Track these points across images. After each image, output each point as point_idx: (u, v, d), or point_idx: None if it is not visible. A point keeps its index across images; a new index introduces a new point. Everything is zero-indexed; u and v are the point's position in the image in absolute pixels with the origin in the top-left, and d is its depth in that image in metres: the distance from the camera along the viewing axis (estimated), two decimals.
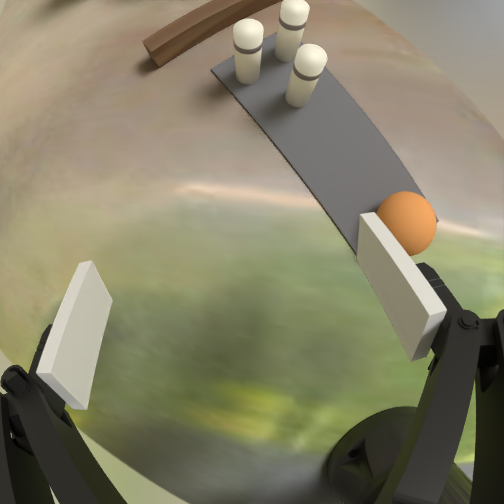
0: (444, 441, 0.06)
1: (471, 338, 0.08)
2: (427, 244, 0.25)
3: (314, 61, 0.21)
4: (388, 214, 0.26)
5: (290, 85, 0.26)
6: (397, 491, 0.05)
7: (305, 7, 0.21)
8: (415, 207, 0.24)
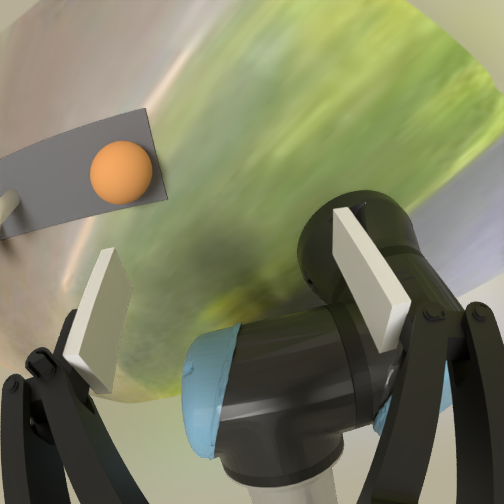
0: (419, 435, 0.06)
1: (438, 329, 0.09)
2: (139, 176, 0.26)
3: None
4: None
5: None
6: (376, 488, 0.05)
7: None
8: (99, 183, 0.25)
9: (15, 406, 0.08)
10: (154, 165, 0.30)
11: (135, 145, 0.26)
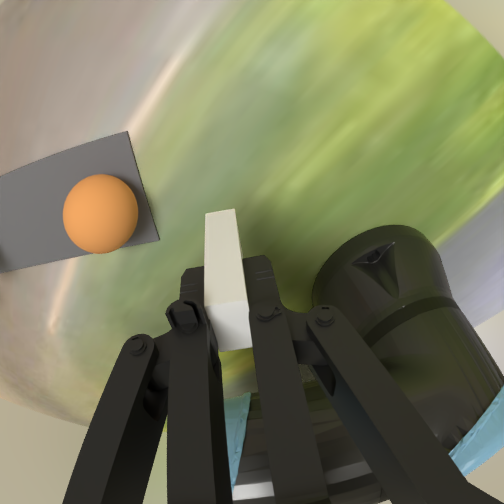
0: (295, 434, 0.07)
1: (276, 327, 0.10)
2: (120, 222, 0.21)
3: None
4: None
5: None
6: (277, 497, 0.06)
7: None
8: (72, 231, 0.20)
9: (133, 372, 0.09)
10: (141, 201, 0.25)
11: (115, 181, 0.21)
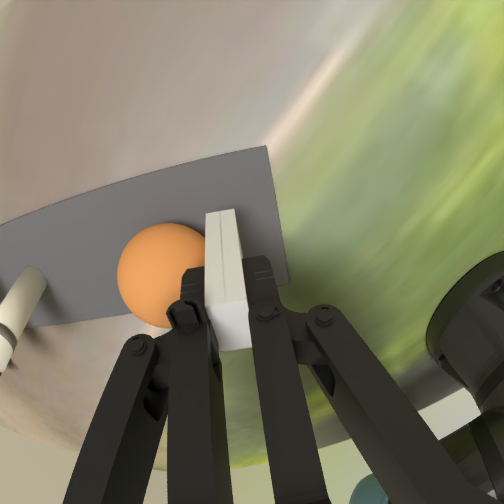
0: (295, 434, 0.07)
1: (276, 327, 0.10)
2: (152, 316, 0.16)
3: None
4: None
5: None
6: (277, 498, 0.06)
7: None
8: None
9: (133, 372, 0.09)
10: (275, 237, 0.20)
11: (169, 261, 0.15)
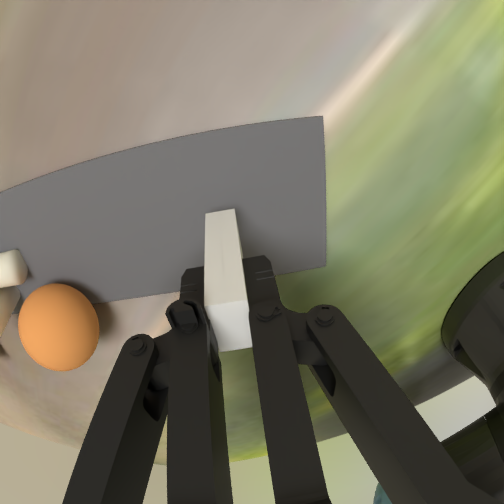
0: (295, 434, 0.07)
1: (276, 327, 0.10)
2: (73, 295, 0.18)
3: None
4: None
5: None
6: (277, 498, 0.06)
7: None
8: (69, 351, 0.16)
9: (133, 372, 0.09)
10: (320, 215, 0.19)
11: (31, 293, 0.17)
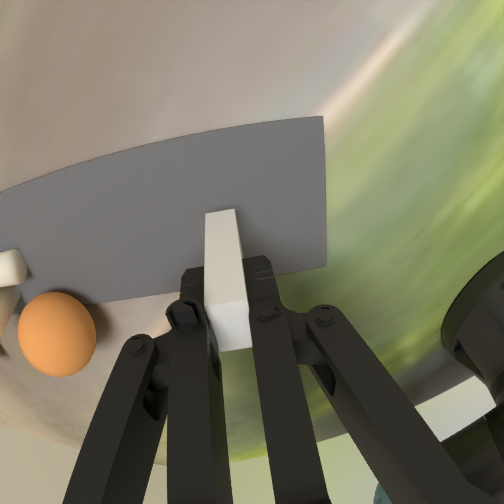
0: (295, 434, 0.07)
1: (276, 327, 0.10)
2: (67, 312, 0.18)
3: None
4: None
5: None
6: (277, 498, 0.06)
7: None
8: (64, 367, 0.17)
9: (133, 372, 0.09)
10: (320, 215, 0.19)
11: (28, 306, 0.17)
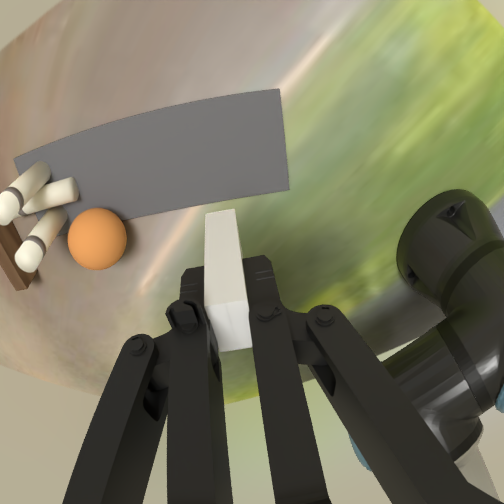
0: (295, 434, 0.07)
1: (276, 327, 0.10)
2: (109, 217, 0.27)
3: None
4: (114, 263, 0.29)
5: None
6: (277, 498, 0.06)
7: (1, 204, 0.19)
8: (102, 256, 0.26)
9: (133, 372, 0.09)
10: (281, 152, 0.29)
11: (79, 215, 0.27)
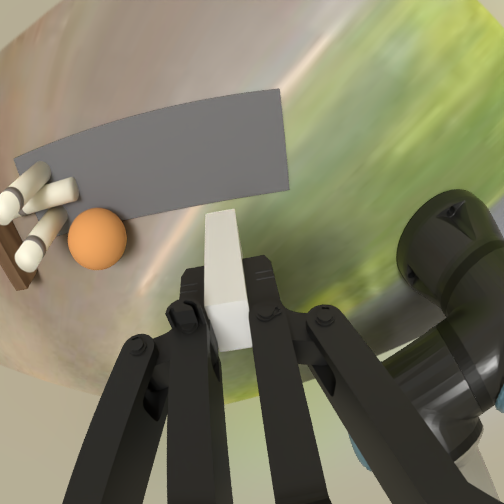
0: (295, 434, 0.07)
1: (276, 327, 0.10)
2: (109, 217, 0.27)
3: None
4: None
5: None
6: (277, 498, 0.06)
7: (1, 203, 0.19)
8: (103, 256, 0.26)
9: (133, 372, 0.09)
10: (281, 152, 0.29)
11: (79, 215, 0.27)
